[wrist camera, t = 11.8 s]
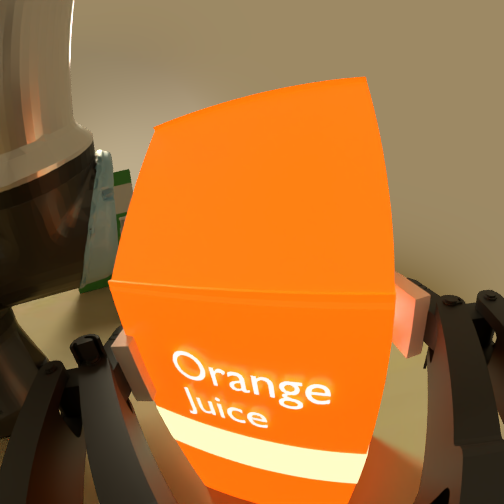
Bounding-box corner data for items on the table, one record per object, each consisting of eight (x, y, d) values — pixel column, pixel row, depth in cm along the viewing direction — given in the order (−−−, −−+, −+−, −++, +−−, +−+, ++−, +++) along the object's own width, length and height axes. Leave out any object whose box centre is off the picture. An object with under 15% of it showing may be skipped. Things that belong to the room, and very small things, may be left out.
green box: (80, 293, 53) (55, 188, 46) (85, 284, 59) (63, 189, 53) (150, 275, 59) (129, 169, 53) (148, 267, 66) (129, 172, 59)
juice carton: (341, 520, 8) (364, 19, 3) (203, 487, 12) (75, 127, 7) (365, 426, 15) (369, 103, 10) (252, 412, 19) (201, 132, 14)
